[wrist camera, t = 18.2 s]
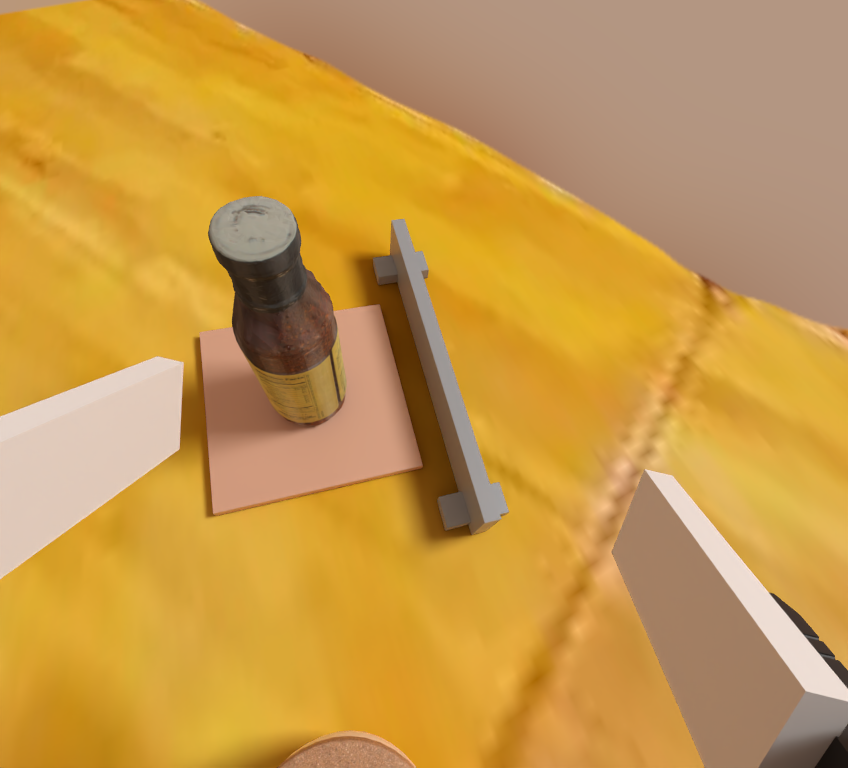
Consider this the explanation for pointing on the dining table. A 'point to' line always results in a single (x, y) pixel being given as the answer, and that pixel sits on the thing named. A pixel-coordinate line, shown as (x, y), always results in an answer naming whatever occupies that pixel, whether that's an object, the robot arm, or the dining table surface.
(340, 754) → the lidded jar
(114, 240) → the dining table surface
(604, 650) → the dining table surface
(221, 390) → the terracotta tile
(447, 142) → the dining table surface
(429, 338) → the grey wall
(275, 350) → the sauce bottle
